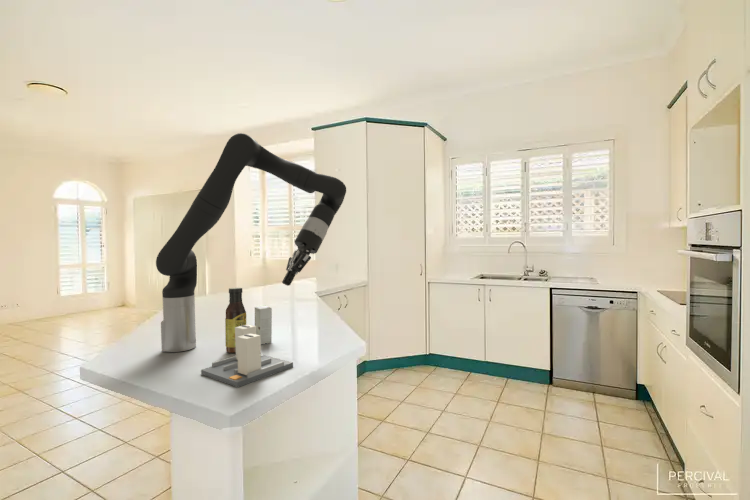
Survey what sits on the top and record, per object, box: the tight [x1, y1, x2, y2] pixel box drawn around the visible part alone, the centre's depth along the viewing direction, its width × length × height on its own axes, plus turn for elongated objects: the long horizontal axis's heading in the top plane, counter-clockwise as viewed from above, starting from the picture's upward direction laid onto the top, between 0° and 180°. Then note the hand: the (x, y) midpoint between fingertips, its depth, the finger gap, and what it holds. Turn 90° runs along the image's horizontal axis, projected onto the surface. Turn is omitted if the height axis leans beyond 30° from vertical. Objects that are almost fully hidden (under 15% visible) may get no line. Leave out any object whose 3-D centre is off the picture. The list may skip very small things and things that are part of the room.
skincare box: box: [254, 305, 273, 345], centre depth 127 cm, size 6×4×12 cm
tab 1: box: [235, 324, 256, 360], centre depth 103 cm, size 4×4×9 cm
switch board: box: [200, 353, 294, 388], centre depth 98 cm, size 17×16×2 cm
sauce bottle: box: [224, 287, 247, 354], centre depth 117 cm, size 7×6×20 cm
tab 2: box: [237, 333, 262, 375], centre depth 93 cm, size 4×4×9 cm
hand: (285, 284), depth 108 cm, fingers closed
